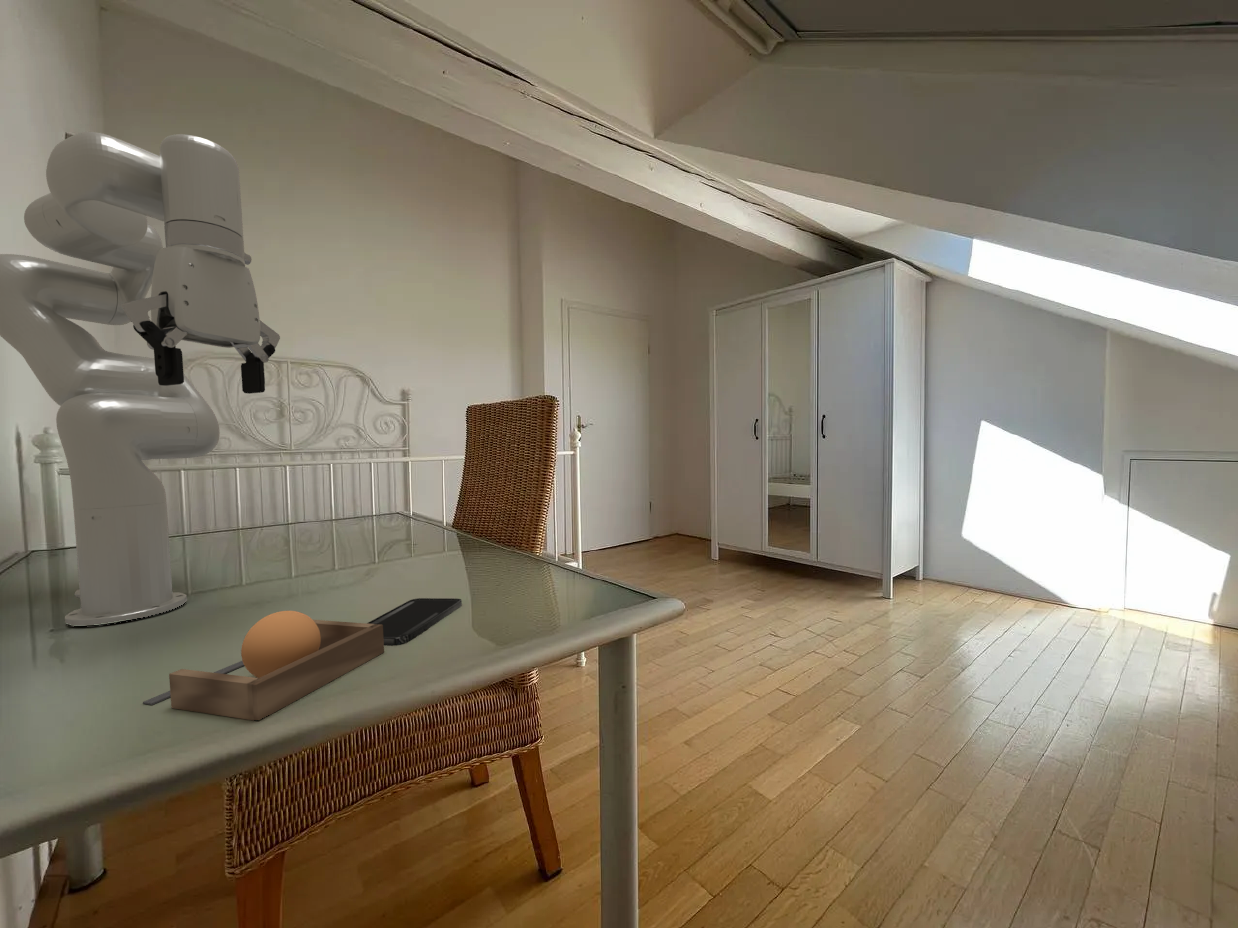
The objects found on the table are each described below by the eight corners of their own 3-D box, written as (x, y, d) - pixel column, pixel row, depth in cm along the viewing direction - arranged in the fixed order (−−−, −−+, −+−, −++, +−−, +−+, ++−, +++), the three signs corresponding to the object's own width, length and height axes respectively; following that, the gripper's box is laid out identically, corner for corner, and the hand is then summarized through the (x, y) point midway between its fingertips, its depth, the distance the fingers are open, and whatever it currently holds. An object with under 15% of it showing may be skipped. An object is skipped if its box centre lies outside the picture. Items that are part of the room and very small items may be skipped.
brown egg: (227, 689, 47) (220, 623, 46) (289, 658, 53) (284, 599, 52) (280, 698, 45) (273, 629, 45) (338, 664, 51) (333, 603, 51)
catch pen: (171, 707, 44) (169, 673, 44) (311, 645, 57) (309, 619, 57) (258, 720, 41) (256, 684, 41) (384, 652, 54) (382, 624, 54)
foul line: (142, 703, 45) (142, 701, 45) (286, 643, 58) (286, 641, 58) (152, 705, 44) (152, 703, 44) (294, 643, 58) (294, 642, 58)
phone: (339, 637, 57) (413, 597, 72) (340, 647, 57) (413, 605, 72) (403, 639, 56) (465, 598, 71) (404, 649, 56) (465, 606, 71)
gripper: (252, 275, 71) (260, 397, 72) (96, 225, 55) (107, 383, 55) (293, 268, 69) (301, 393, 70) (144, 213, 52) (155, 378, 53)
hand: (215, 389), depth 62 cm, fingers open, 9 cm apart
